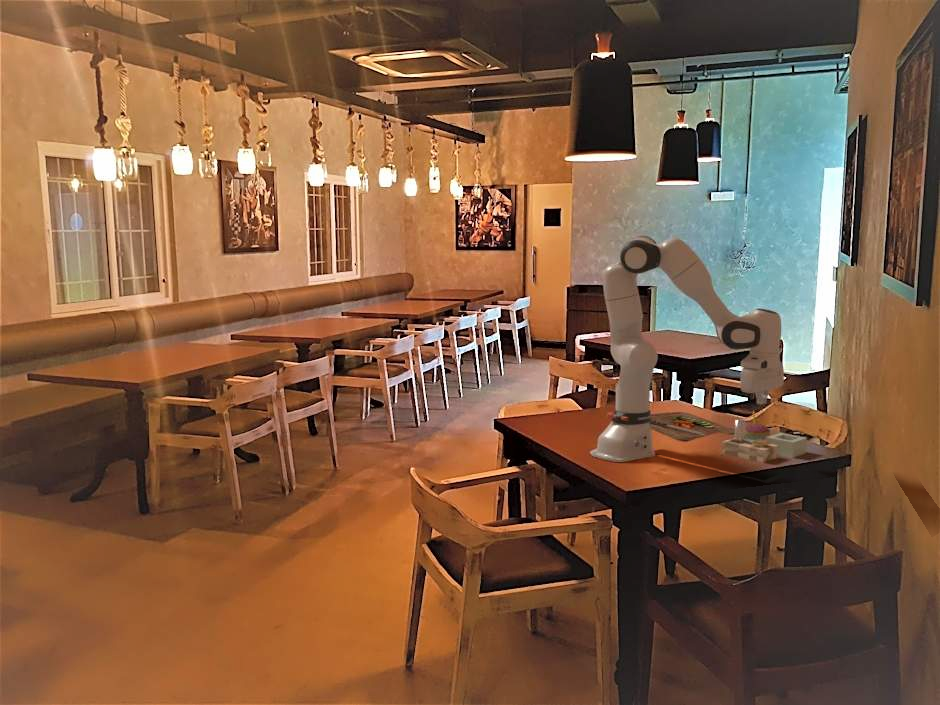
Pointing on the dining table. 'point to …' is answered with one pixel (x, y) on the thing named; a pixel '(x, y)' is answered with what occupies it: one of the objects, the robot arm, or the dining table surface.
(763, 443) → the drift key
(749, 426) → the cupcake
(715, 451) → the dining table surface
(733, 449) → the socket block
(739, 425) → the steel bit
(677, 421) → the chopping board
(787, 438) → the bit rack
